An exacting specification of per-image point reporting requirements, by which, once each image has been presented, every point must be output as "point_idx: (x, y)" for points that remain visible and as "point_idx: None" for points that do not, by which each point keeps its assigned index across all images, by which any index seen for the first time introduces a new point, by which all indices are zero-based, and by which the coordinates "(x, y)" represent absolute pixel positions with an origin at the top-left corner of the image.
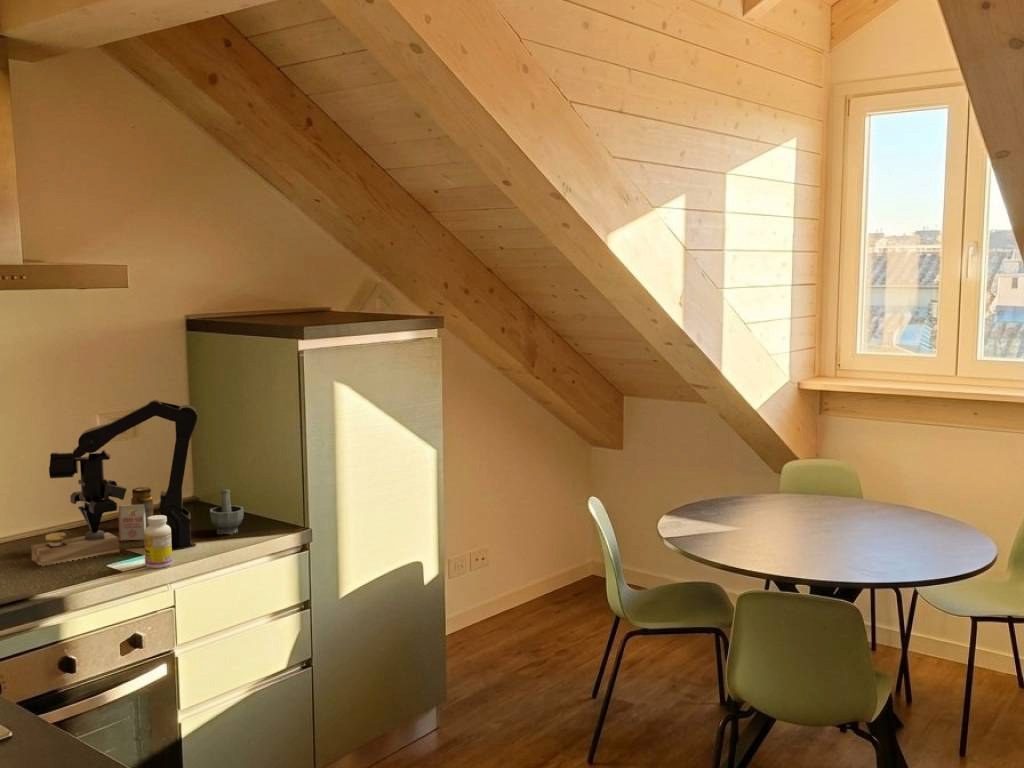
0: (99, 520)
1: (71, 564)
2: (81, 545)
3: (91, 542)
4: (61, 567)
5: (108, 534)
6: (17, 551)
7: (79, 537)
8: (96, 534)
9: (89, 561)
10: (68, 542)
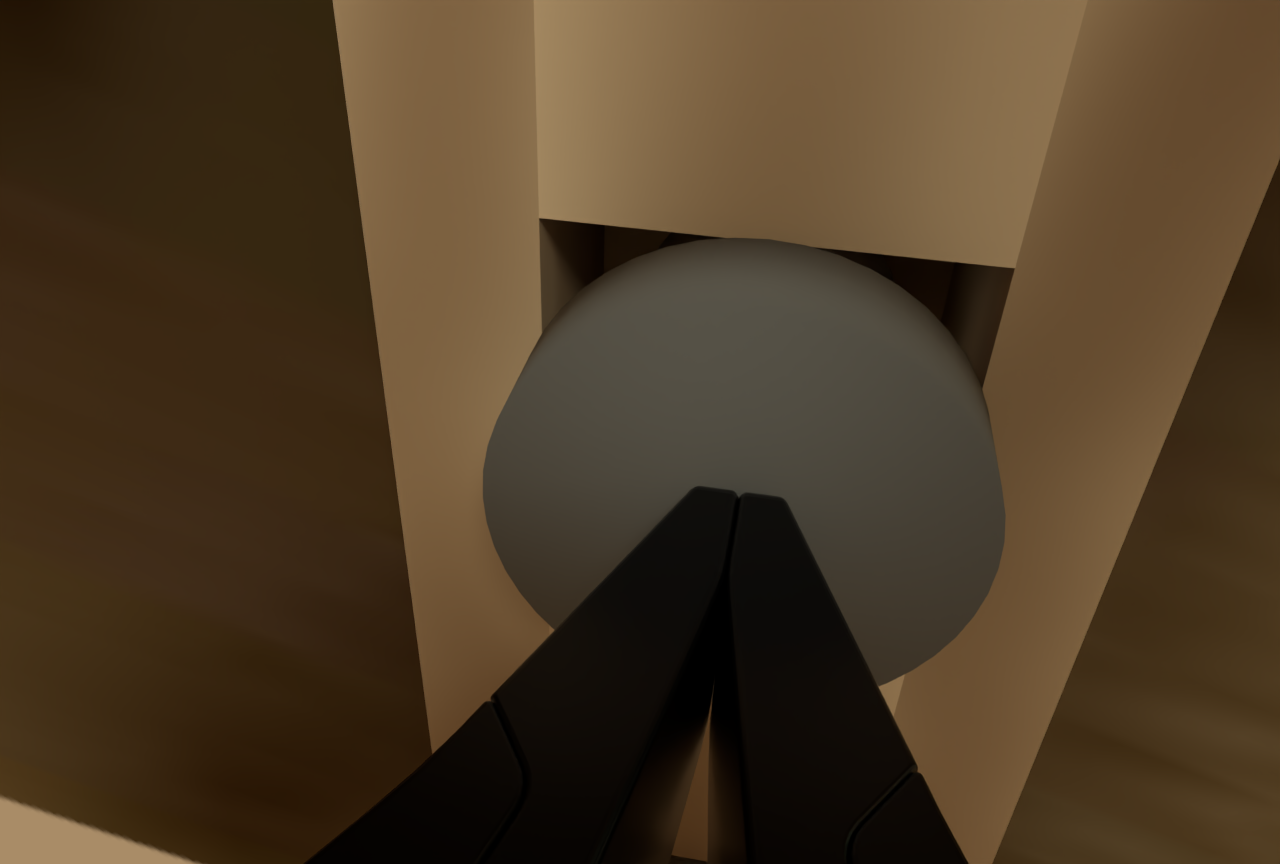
0: (938, 832)
1: (1123, 750)
2: (1023, 766)
3: (1068, 638)
4: (1135, 853)
5: (620, 1)
6: (68, 773)
7: (444, 580)
8: (985, 593)
9: (1236, 567)
10: (687, 816)
